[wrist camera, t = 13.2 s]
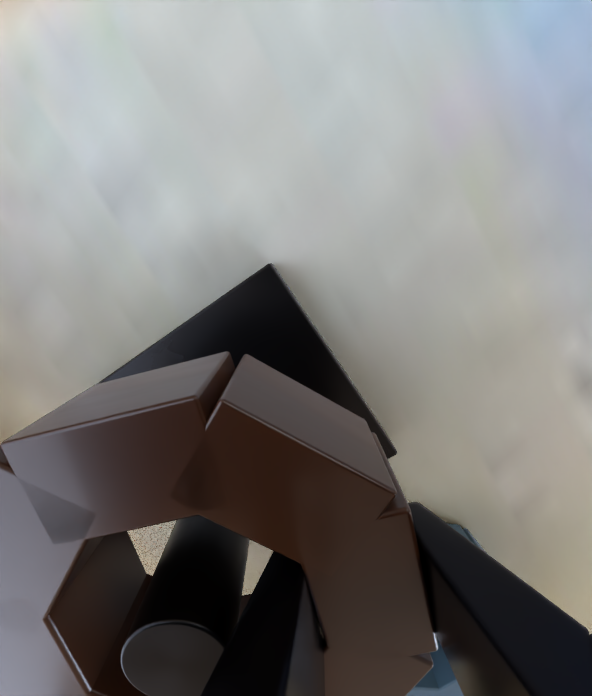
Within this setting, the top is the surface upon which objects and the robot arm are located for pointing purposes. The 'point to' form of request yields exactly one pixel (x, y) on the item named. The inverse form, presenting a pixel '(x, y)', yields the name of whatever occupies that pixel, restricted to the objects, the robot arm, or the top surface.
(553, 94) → the top surface
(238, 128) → the top surface
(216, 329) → the stand
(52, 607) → the walnut ring
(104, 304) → the top surface
